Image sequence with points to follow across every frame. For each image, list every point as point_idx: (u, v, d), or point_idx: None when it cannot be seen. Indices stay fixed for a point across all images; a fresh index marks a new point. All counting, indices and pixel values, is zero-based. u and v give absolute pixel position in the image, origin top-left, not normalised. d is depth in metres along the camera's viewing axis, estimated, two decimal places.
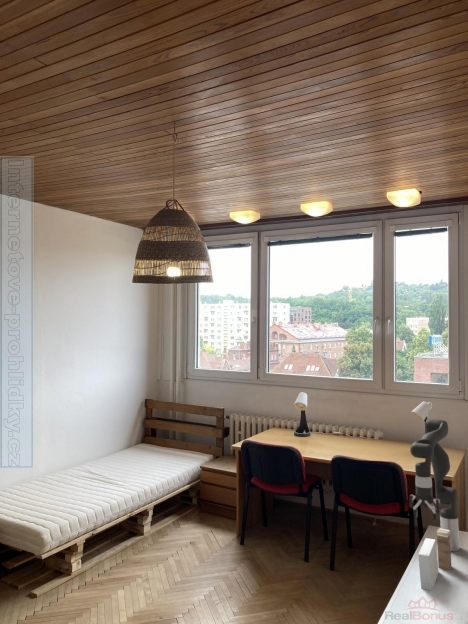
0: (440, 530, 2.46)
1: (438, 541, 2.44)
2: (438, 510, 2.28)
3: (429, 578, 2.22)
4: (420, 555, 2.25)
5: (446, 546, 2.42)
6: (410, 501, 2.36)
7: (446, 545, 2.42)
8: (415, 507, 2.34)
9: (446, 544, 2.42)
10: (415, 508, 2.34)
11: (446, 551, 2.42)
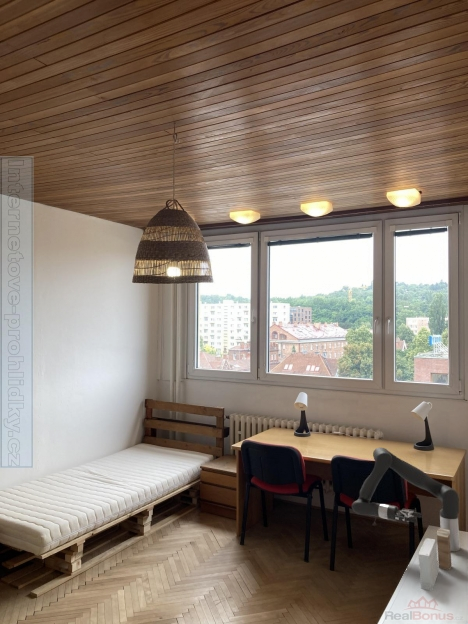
0: (440, 530, 2.46)
1: (438, 541, 2.44)
2: None
3: (429, 578, 2.22)
4: (420, 555, 2.25)
5: (446, 546, 2.42)
6: None
7: (446, 545, 2.42)
8: None
9: (446, 544, 2.42)
10: (412, 516, 2.59)
11: (446, 551, 2.42)
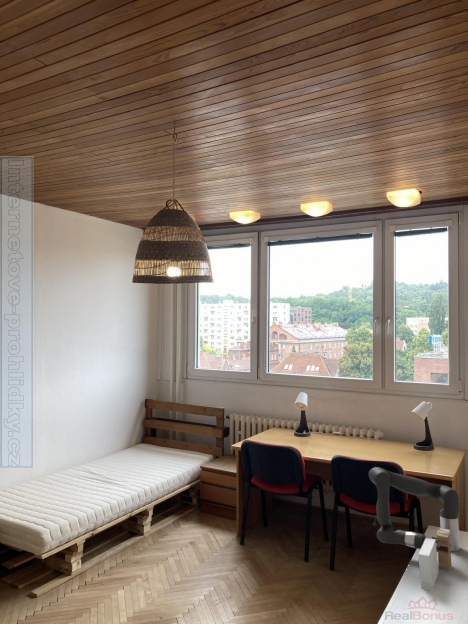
0: (440, 530, 2.46)
1: (438, 541, 2.44)
2: None
3: (429, 578, 2.22)
4: (420, 555, 2.25)
5: (446, 546, 2.42)
6: None
7: (446, 545, 2.42)
8: None
9: (446, 544, 2.42)
10: None
11: None
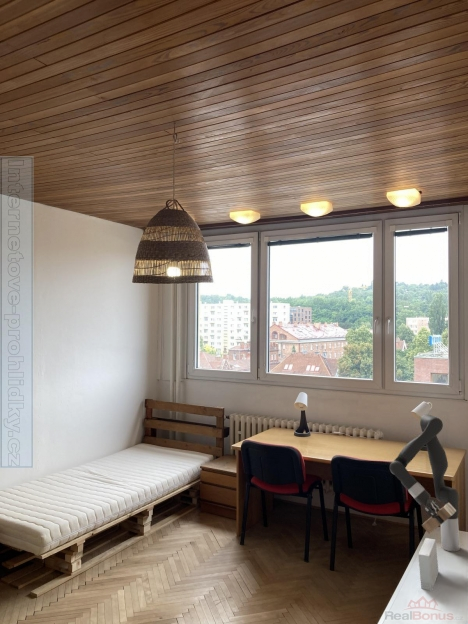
0: (449, 506, 2.44)
1: (440, 512, 2.45)
2: None
3: (429, 578, 2.22)
4: (420, 555, 2.25)
5: None
6: None
7: (444, 519, 2.43)
8: (436, 512, 2.51)
9: (445, 518, 2.43)
10: None
11: None
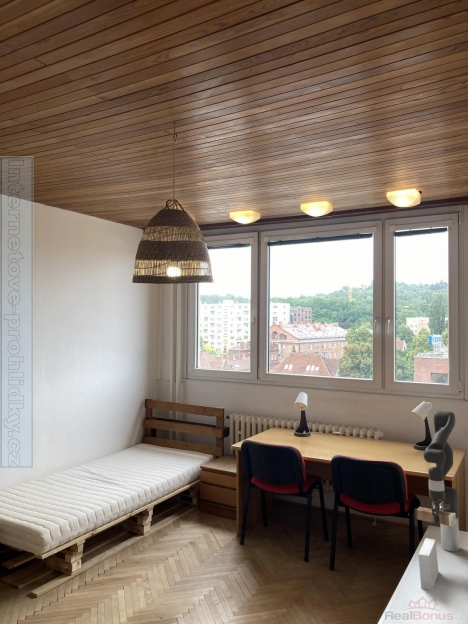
0: (454, 517, 2.43)
1: (442, 516, 2.44)
2: None
3: (429, 578, 2.22)
4: (420, 555, 2.25)
5: (439, 522, 2.45)
6: None
7: (440, 522, 2.44)
8: (436, 509, 2.51)
9: (441, 523, 2.44)
10: (437, 510, 2.51)
11: None
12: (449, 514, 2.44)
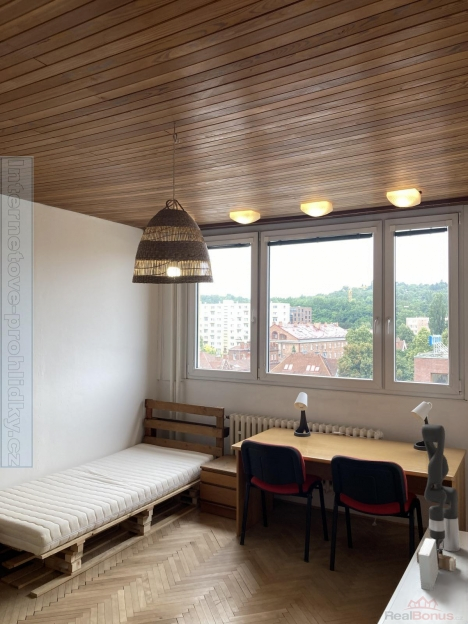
0: (454, 562, 2.41)
1: (443, 560, 2.43)
2: None
3: (429, 578, 2.22)
4: (420, 555, 2.25)
5: (440, 566, 2.43)
6: None
7: (441, 567, 2.43)
8: None
9: (442, 567, 2.43)
10: None
11: None
12: (450, 558, 2.42)
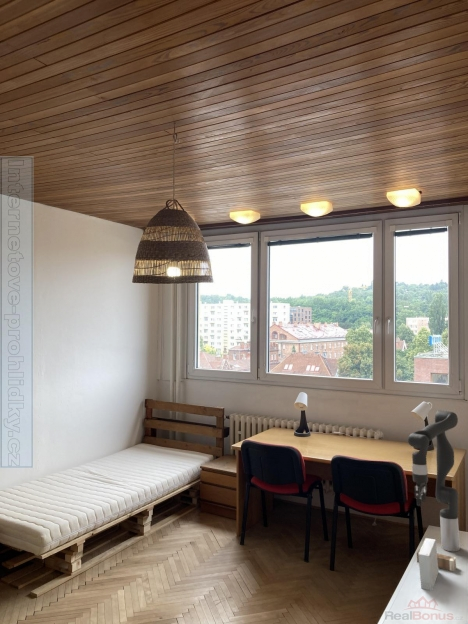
0: (454, 562, 2.41)
1: (443, 560, 2.43)
2: None
3: (429, 578, 2.22)
4: (420, 555, 2.25)
5: (440, 566, 2.43)
6: None
7: (441, 567, 2.43)
8: None
9: (442, 567, 2.43)
10: None
11: None
12: (450, 558, 2.42)
